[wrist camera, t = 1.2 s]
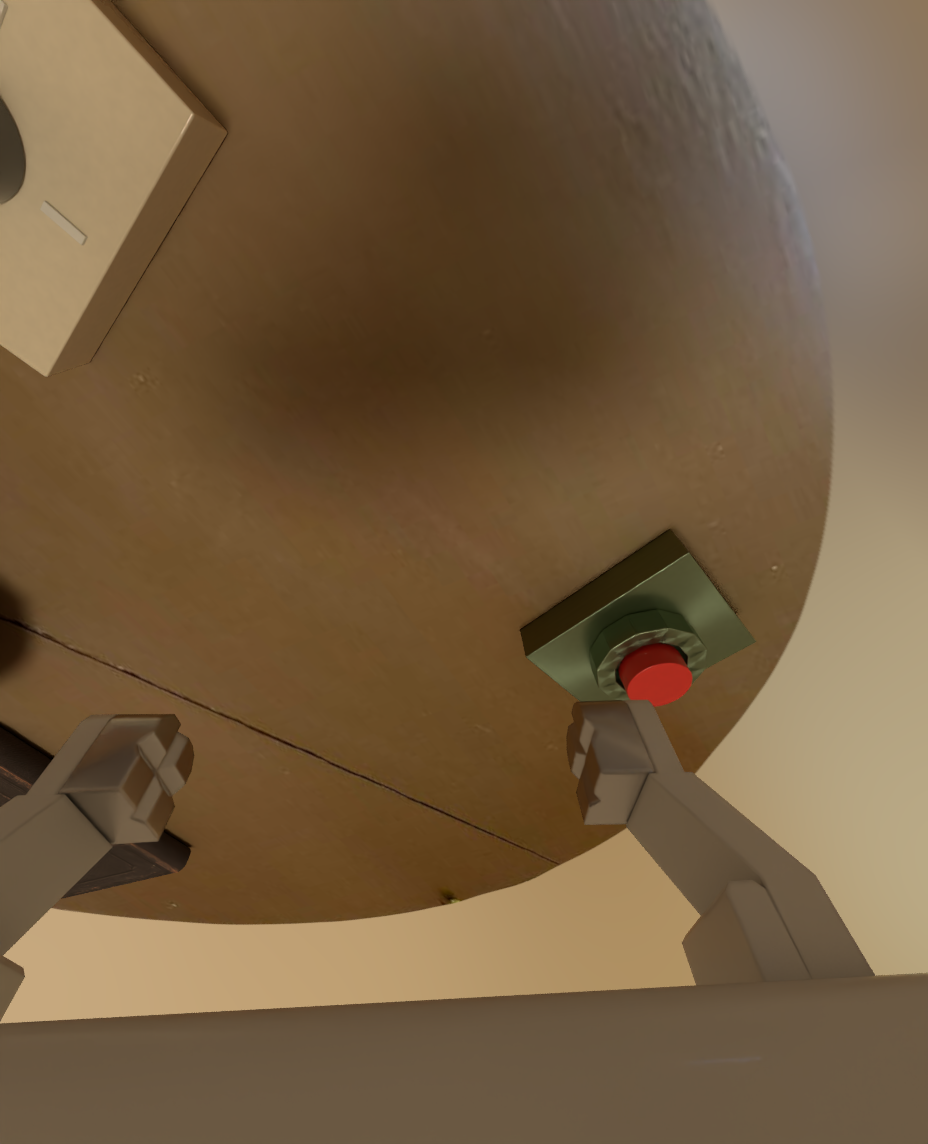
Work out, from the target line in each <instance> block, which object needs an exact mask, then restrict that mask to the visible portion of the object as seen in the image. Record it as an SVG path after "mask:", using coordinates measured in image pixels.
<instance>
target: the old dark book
mask: <svg viewBox="0 0 928 1144" xmlns="http://www.w3.org/2000/svg"><path fill="white" fill-rule="evenodd" d="M51 761H52V760H51V759H49V758H48V757H46V756H45V755H43V754H41V753H40V752H38V751H37V750H35V749H34V748H32V747H31V746H29V745H27V744H26V743H24V742H23V741H21V740H20V739H18V738H17V737H15V736H13V735H12V734H10V733H9V732H7V731H6V730H4V729H3V728H1V727H0V807H1V806H3V805H4V804H5V803H7V802H8V801H10V800H11V799H13V798H14V797H16V796H18V795H26V794H27V793H28V791H29V790H30V789H31V787H32V786H33V785H34V783H35V782H36V781H37V779H38V778H39V777H40V776H41V774H42V773H43V772H44V770H45V769H46V768H47V766H48V765H49V764H50V762H51ZM111 845H112V848H111V849H110V850H109V851H108V852H107V853H106V854H105V855H104V856H103V857H102V858H101V859H100V860H99V861H98V862H97V863H96V864H95V865H94V866H93V867H92V868H91V869H90V870H89V871H88V872H87V873H86V874H85V875H84V876H83V877H82V878H81V879H80V880H79V881H78V882H77V883H76V884H75V885H74V886H73V887H72V888H71V889H70V890H69V891H68V892H67V893H66V894H65V895H64V896H63V897H62V898H67V897H71V896H75V895H80V894H84V893H88V892H93V891H97V890H102V889H106V888H110V887H115V886H119V885H123V884H128V883H132V882H136V881H141V880H145V879H149V878H154V877H158V876H162V875H167V874H171V873H176V872H179V871H180V870H181V869H182V868H183V867H184V866H185V865H186V863H187V861H188V859H189V856H190V853H191V850H190V849H189V848H188V847H186V846H185V845H183V844H182V843H180V842H179V841H177V840H175V839H174V838H172V837H171V836H169V835H168V834H166V833H165V832H163V833H162V835H161V837H160V839H159V841H156V842H141V843H126V844H111ZM62 898H61V899H62Z"/></svg>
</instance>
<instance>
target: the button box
mask: <svg viewBox="0 0 928 1144" xmlns="http://www.w3.org/2000/svg"><path fill="white" fill-rule="evenodd" d="M520 632H521V636H522V641H523V646H524V650H525V655H526V658H528V659H529V660H530V661H531V662H533V663H534V664H535V665H536V666H537V667H539V668H540V669H541V670H542V671H544V672H545V673H546V674H547V675H548V676H550V677H551V678H552V679H553V680H555V681H556V682H557V683H558V684H559V685H561V686H562V687H563V688H564V689H566V690H567V691H568V692H569V693H571V694H572V695H573V696H574V697H575V698H577V699H578V700H579V701H580V702H582V701H606V700H622V701H624V700H630V699H629V697H628V695H627V693H626V690H625V688H624V685H623V683H622V681H621V678H620V676H619V665H620V663H621V661H622V660H623V658H624V657H625V656H626V655H628V654H630V653H632V652H633V651H635V650H637V649H638V648H640V647H642V646H646V645H651V644H657V643H664V644H668V645H671V646H673V647H674V648H676V649H677V650H678V651H679V653H680V654H681V656H682V658H683V659H684V661H685V663H686V664H687V666H688V668H689V670H690V671H691V673H692V684H693V683H694V681H695V680H696V679H697V678H698V677H699V676H700V674H701V673H702V672H703V671H704V670H705V669H706V668H708V667H710V666H712V665H714V664H716V663H717V662H719V661H721V660H723V659H725V658H727V657H729V656H730V655H732V654H734V653H736V652H738V651H740V650H742V649H744V648H745V647H747V646H749V645H751V644H753V643H755V642H756V640H755V639H754V638H753V637H752V635H751V634H750V633H749V631H748V630H747V629H746V627H745V626H744V625H743V623H742V622H741V621H740V619H739V618H738V617H737V615H736V614H735V613H734V611H733V610H732V609H731V607H730V606H729V605H728V603H727V602H726V601H725V599H724V598H723V597H722V595H721V594H720V593H719V591H718V590H717V589H716V587H715V586H714V585H713V583H712V582H711V581H710V579H709V578H708V577H707V575H706V574H705V573H704V571H703V570H702V569H701V567H700V566H699V565H698V563H697V562H696V561H695V559H694V558H693V557H692V556H691V554H690V553H689V552H688V550H687V549H686V548H685V547H684V546H683V544H682V543H681V542H680V541H679V539H678V538H677V537H676V536H675V535H674V533H673V532H672V531H671V530H668V531H667V532H665V533H664V534H662V535H661V536H659V537H658V538H656V539H655V540H653V541H652V542H650V543H649V544H647V545H646V546H644V547H643V548H641V549H640V550H638V551H637V552H636V553H634V554H633V555H631V556H630V557H628V558H627V559H625V560H624V561H622V562H621V563H619V564H618V565H616V566H615V567H613V568H612V569H610V570H609V571H607V572H606V573H604V574H603V575H601V576H600V577H598V578H597V579H595V580H594V581H592V582H591V583H589V584H588V585H586V586H585V587H583V588H582V589H581V590H579V591H578V592H576V593H575V594H573V595H572V596H570V597H569V598H567V599H566V600H564V601H563V602H561V603H560V604H558V605H557V606H555V607H554V608H552V609H551V610H549V611H548V612H546V613H545V614H543V615H542V616H540V617H539V618H537V619H536V620H534V621H533V622H531V623H530V624H529V625H527V626H526V627H524V628H523V629H521V630H520ZM692 684H691V685H692Z"/></svg>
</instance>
